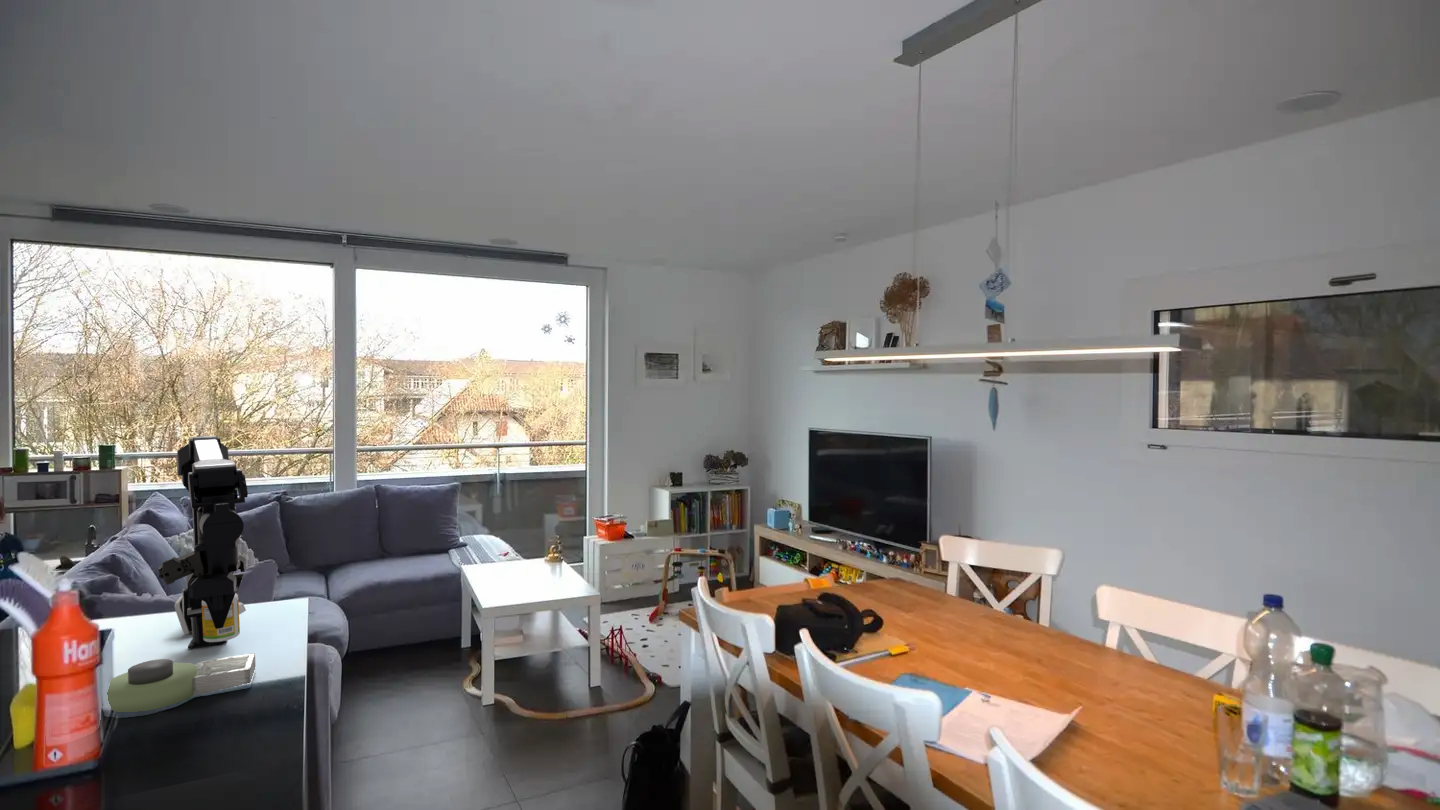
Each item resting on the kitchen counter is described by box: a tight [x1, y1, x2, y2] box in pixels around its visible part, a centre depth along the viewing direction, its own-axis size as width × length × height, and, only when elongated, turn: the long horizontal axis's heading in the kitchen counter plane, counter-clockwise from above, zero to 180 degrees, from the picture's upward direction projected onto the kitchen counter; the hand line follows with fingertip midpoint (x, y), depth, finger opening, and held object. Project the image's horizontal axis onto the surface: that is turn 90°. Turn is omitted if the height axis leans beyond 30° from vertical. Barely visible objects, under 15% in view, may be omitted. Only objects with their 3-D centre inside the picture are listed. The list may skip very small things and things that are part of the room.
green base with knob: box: [107, 658, 198, 712], centre depth 126 cm, size 13×13×6 cm
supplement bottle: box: [202, 593, 241, 642], centre depth 132 cm, size 5×5×10 cm
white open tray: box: [192, 652, 256, 695], centre depth 132 cm, size 9×9×4 cm
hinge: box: [174, 595, 247, 635], centre depth 168 cm, size 17×5×10 cm, turn 8°
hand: (221, 623), depth 132 cm, fingers closed on supplement bottle, 5 cm apart
